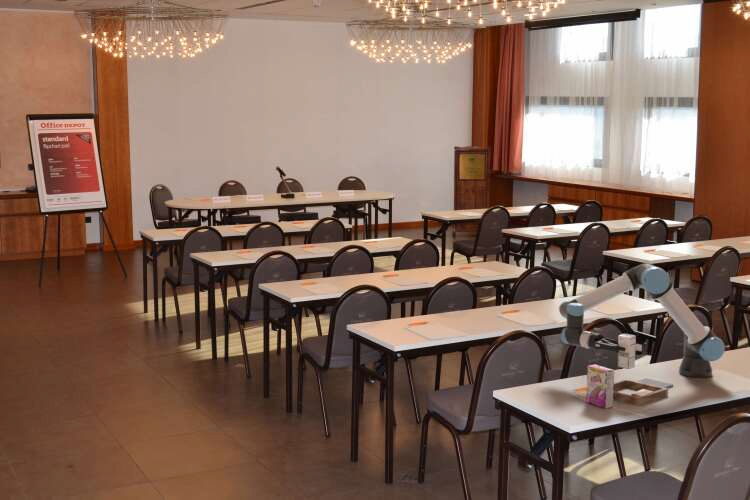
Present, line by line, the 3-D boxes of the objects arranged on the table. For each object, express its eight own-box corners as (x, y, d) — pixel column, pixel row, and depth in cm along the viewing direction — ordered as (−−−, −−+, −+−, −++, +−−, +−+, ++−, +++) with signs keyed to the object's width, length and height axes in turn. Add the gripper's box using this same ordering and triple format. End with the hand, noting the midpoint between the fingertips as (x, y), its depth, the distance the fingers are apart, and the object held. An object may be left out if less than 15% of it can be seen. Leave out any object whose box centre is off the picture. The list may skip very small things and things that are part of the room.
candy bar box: (585, 402, 392) (586, 365, 390) (593, 400, 395) (595, 363, 393) (605, 409, 383) (606, 371, 381) (613, 407, 385) (614, 369, 383)
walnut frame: (595, 395, 402) (596, 388, 402) (625, 386, 418) (625, 378, 417) (638, 406, 387) (639, 398, 386) (667, 396, 402) (668, 388, 401)
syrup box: (635, 367, 403) (636, 334, 401) (628, 369, 399) (629, 337, 397) (623, 364, 407) (624, 333, 405) (616, 367, 403) (617, 335, 401)
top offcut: (631, 396, 396) (631, 393, 396) (642, 391, 403) (642, 389, 403) (641, 398, 393) (641, 396, 393) (653, 393, 400) (653, 391, 400)
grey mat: (629, 385, 419) (629, 383, 419) (646, 380, 428) (646, 378, 428) (656, 392, 409) (656, 389, 408) (673, 386, 418) (673, 384, 418)
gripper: (604, 345, 422) (648, 354, 405) (579, 351, 409) (624, 361, 392) (604, 329, 421) (649, 337, 404) (580, 335, 408) (624, 344, 391)
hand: (636, 349), depth 398 cm, fingers closed on syrup box, 6 cm apart
